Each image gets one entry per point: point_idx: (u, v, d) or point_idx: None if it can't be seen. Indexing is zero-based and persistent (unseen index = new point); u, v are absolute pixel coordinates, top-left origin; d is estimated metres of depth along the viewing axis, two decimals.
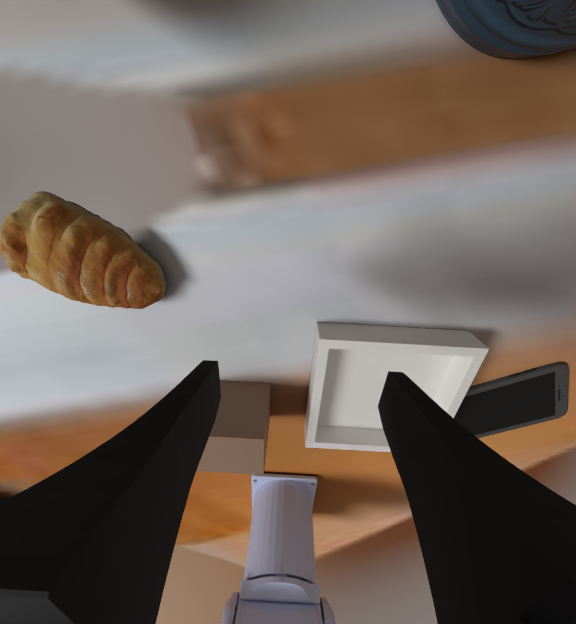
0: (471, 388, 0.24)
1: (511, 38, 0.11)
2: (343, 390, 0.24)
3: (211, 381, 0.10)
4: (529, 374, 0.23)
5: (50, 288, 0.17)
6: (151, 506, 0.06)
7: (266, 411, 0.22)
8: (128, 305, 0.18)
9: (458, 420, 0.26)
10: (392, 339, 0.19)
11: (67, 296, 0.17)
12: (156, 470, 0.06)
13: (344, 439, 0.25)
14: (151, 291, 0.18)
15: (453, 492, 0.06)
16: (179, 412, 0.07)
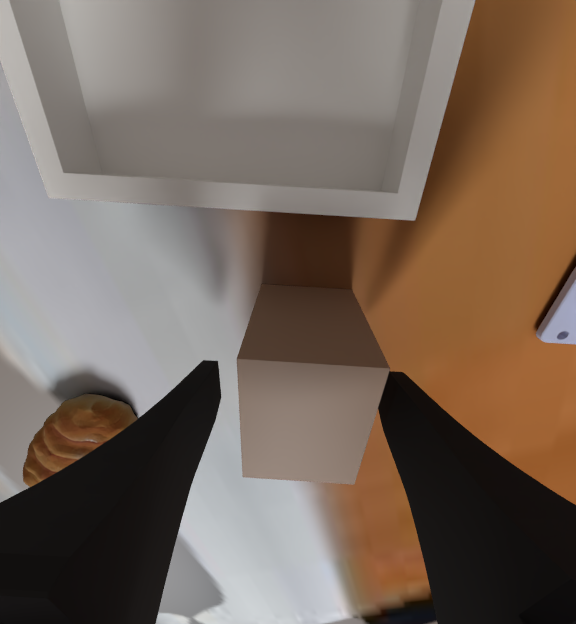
0: None
1: None
2: (253, 108, 0.09)
3: (211, 381, 0.10)
4: None
5: None
6: (151, 506, 0.06)
7: (252, 317, 0.10)
8: None
9: None
10: None
11: None
12: (156, 470, 0.06)
13: (418, 78, 0.07)
14: (86, 417, 0.15)
15: (453, 492, 0.06)
16: (179, 412, 0.07)
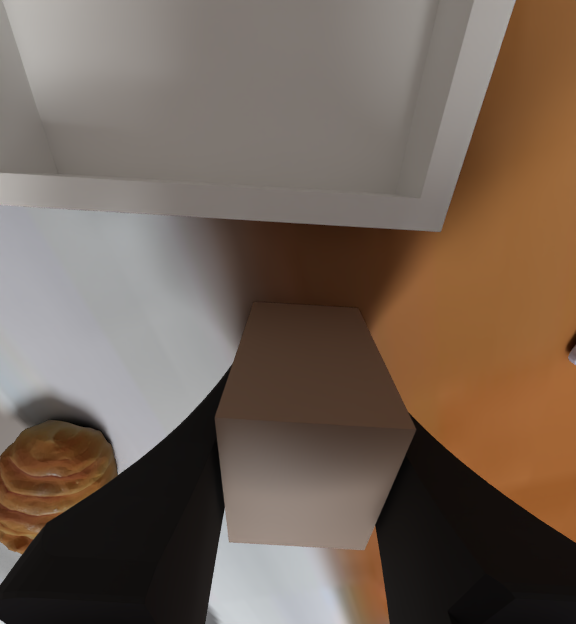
0: None
1: None
2: (240, 92, 0.07)
3: None
4: None
5: None
6: (205, 509, 0.06)
7: (239, 349, 0.08)
8: (76, 475, 0.14)
9: None
10: None
11: None
12: (209, 473, 0.06)
13: (451, 49, 0.06)
14: (46, 449, 0.13)
15: (402, 489, 0.06)
16: None
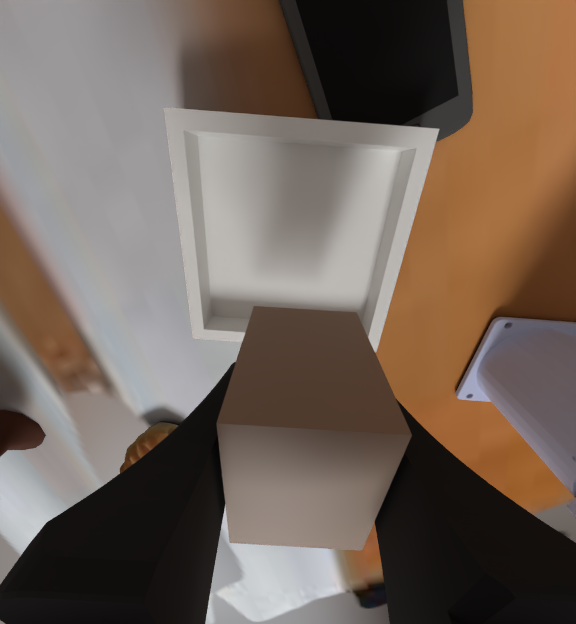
0: (301, 65, 0.13)
1: None
2: (296, 292, 0.18)
3: None
4: None
5: None
6: (205, 509, 0.06)
7: (240, 355, 0.08)
8: None
9: (385, 66, 0.12)
10: None
11: None
12: (209, 473, 0.06)
13: (375, 298, 0.16)
14: None
15: (403, 489, 0.06)
16: None
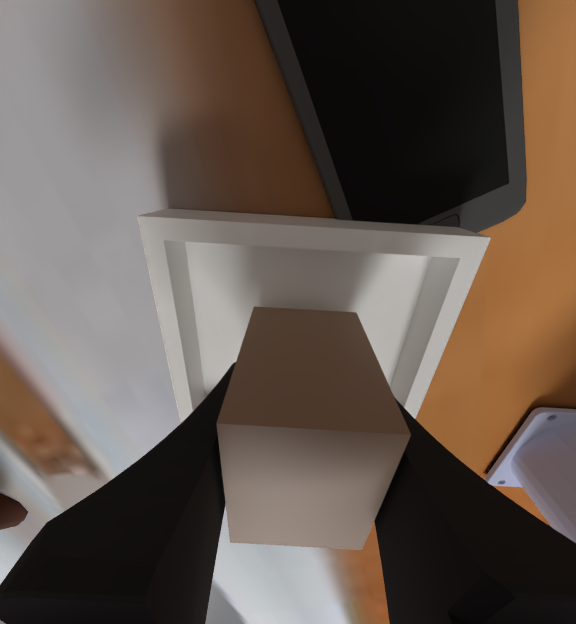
0: (311, 150, 0.10)
1: None
2: None
3: None
4: None
5: None
6: (205, 509, 0.06)
7: (240, 355, 0.08)
8: None
9: (418, 152, 0.10)
10: None
11: None
12: (209, 473, 0.06)
13: None
14: None
15: (403, 489, 0.06)
16: None
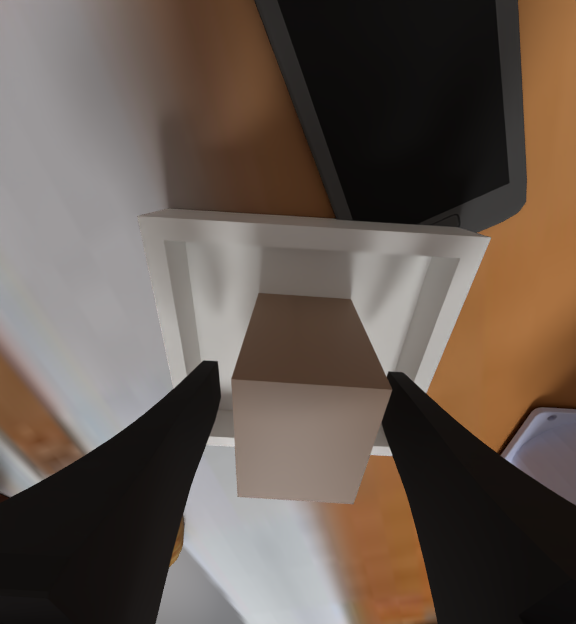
0: (311, 150, 0.10)
1: None
2: None
3: (211, 381, 0.10)
4: None
5: None
6: (151, 506, 0.06)
7: (248, 331, 0.09)
8: None
9: (418, 152, 0.10)
10: None
11: None
12: (156, 470, 0.06)
13: None
14: None
15: (453, 492, 0.06)
16: (179, 412, 0.07)
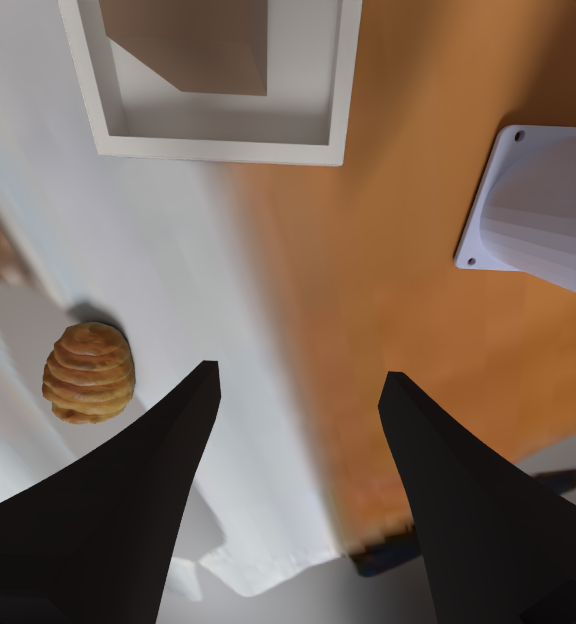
0: None
1: None
2: None
3: (211, 381, 0.10)
4: None
5: (105, 405, 0.21)
6: (151, 506, 0.06)
7: None
8: (105, 355, 0.20)
9: None
10: None
11: (106, 396, 0.21)
12: (156, 470, 0.06)
13: (335, 69, 0.12)
14: (85, 335, 0.19)
15: (453, 492, 0.06)
16: (179, 412, 0.07)
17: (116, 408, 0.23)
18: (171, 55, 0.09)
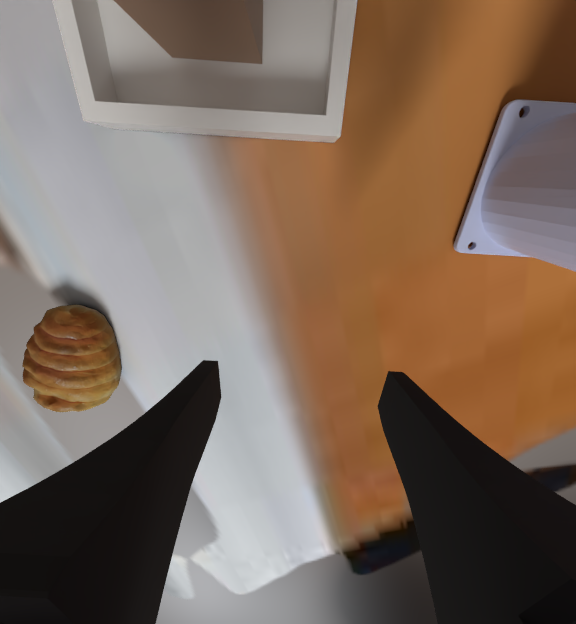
0: None
1: None
2: None
3: (211, 381, 0.10)
4: None
5: (89, 391, 0.21)
6: (151, 506, 0.06)
7: None
8: (87, 339, 0.19)
9: None
10: None
11: (89, 382, 0.20)
12: (156, 470, 0.06)
13: (333, 32, 0.11)
14: (65, 318, 0.19)
15: (453, 492, 0.06)
16: (179, 412, 0.07)
17: (101, 395, 0.22)
18: (158, 3, 0.09)
